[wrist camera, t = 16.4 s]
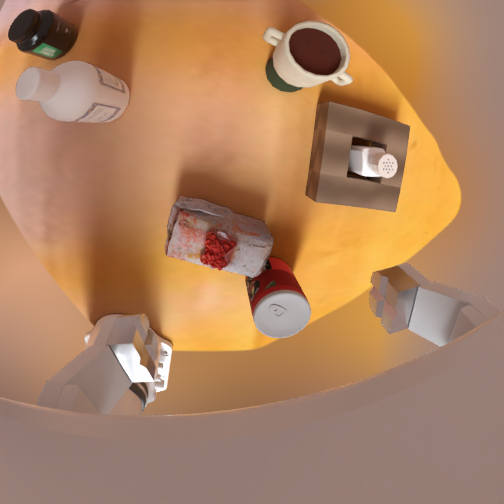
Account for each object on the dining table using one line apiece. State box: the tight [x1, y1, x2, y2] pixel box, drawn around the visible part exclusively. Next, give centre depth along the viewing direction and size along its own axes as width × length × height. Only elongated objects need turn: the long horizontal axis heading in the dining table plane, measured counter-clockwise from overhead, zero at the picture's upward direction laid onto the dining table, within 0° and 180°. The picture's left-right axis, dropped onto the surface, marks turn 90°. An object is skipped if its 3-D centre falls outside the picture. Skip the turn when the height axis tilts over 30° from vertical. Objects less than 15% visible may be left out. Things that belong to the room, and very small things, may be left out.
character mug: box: [263, 21, 353, 92], centre depth 26 cm, size 11×7×13 cm, turn 61°
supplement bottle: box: [8, 9, 77, 60], centre depth 18 cm, size 7×7×12 cm
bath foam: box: [16, 61, 130, 123], centre depth 21 cm, size 7×7×20 cm
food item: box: [165, 196, 274, 278], centre depth 36 cm, size 14×8×10 cm, turn 72°
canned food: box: [245, 257, 311, 338], centre depth 40 cm, size 8×8×11 cm
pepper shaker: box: [348, 145, 398, 178], centre depth 34 cm, size 4×4×10 cm
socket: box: [306, 101, 410, 212], centre depth 36 cm, size 14×14×4 cm
